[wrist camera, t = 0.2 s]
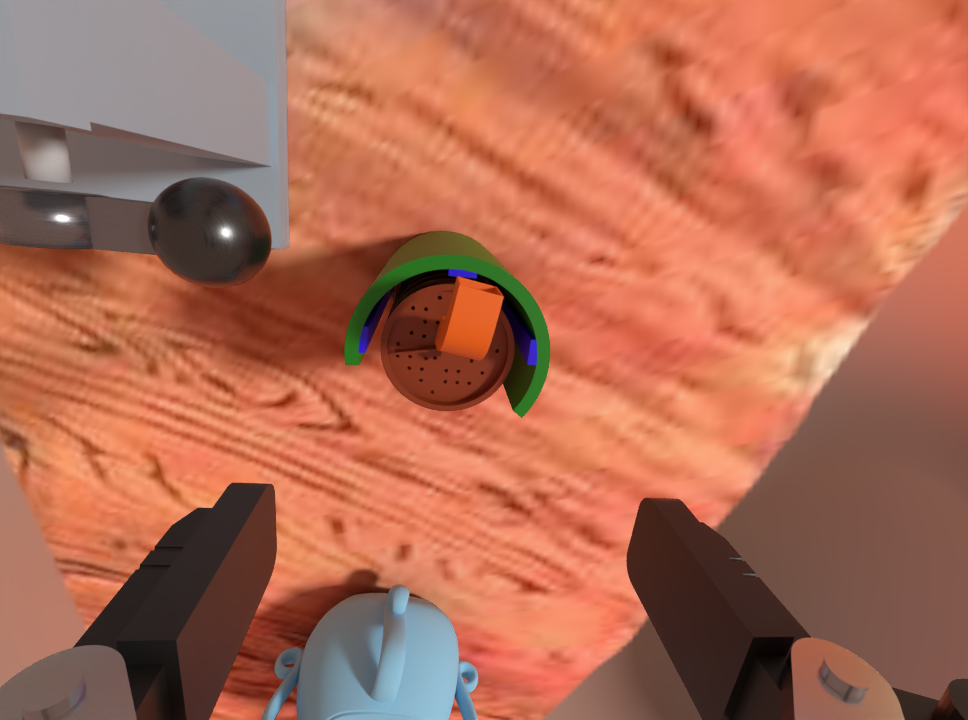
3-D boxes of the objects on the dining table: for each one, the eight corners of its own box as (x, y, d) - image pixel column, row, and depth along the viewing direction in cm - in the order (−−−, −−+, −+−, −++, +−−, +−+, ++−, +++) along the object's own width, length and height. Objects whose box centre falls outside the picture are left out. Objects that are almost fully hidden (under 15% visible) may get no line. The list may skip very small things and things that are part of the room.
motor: (378, 336, 38) (324, 465, 19) (382, 224, 35) (323, 245, 16) (498, 345, 39) (559, 474, 20) (512, 238, 36) (596, 272, 18)
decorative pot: (485, 652, 51) (504, 804, 38) (355, 710, 51) (330, 878, 38) (418, 547, 45) (414, 683, 32) (274, 613, 46) (213, 772, 33)
